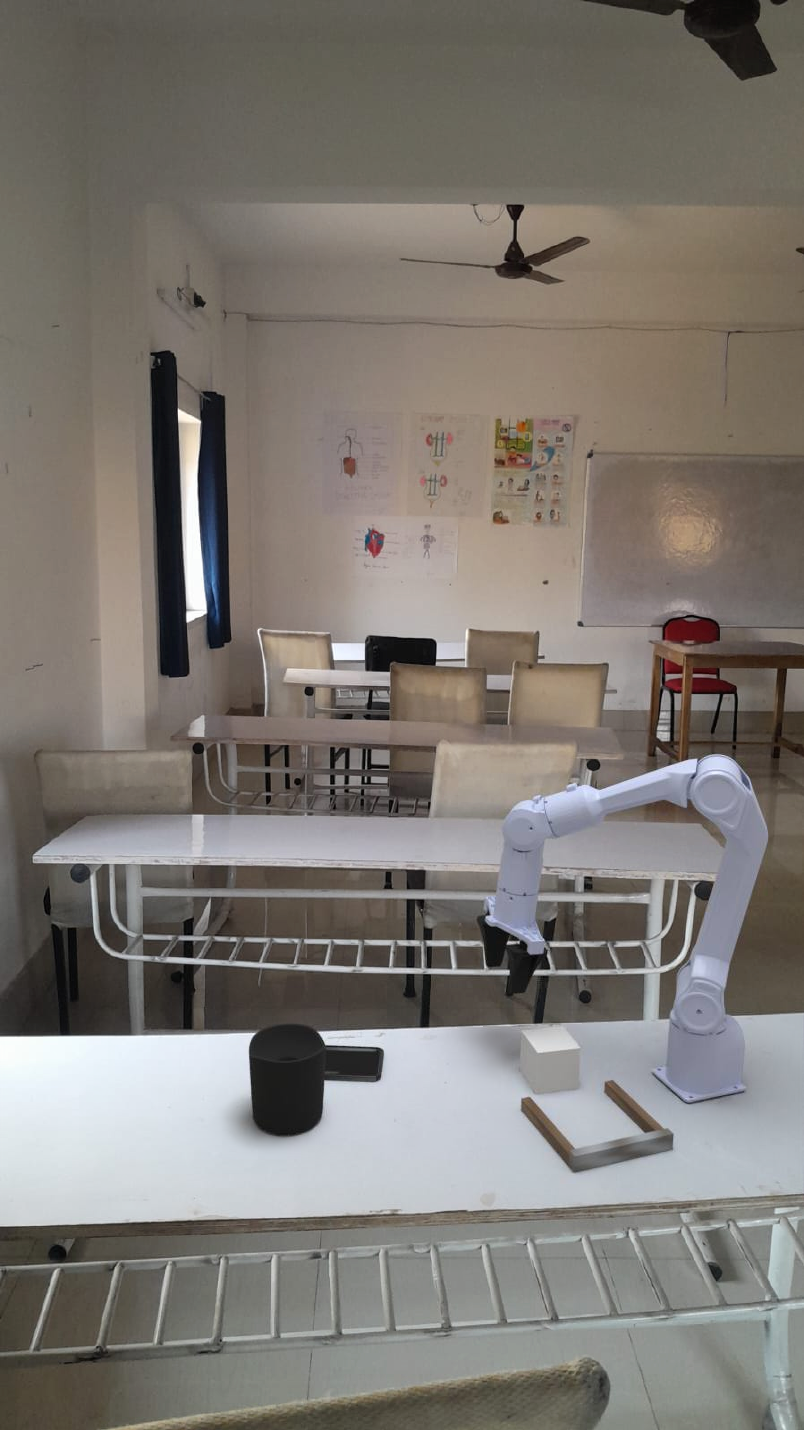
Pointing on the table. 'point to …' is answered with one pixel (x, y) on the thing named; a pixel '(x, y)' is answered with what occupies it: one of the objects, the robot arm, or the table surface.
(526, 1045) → the white cube
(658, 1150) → the u-shaped frame
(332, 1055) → the phone
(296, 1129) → the pen holder
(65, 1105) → the table surface
